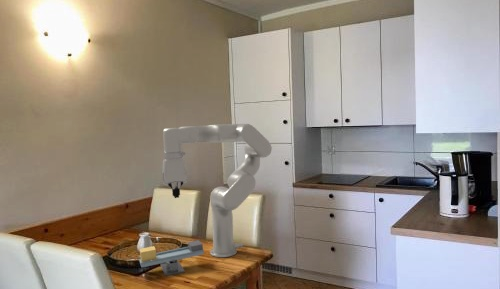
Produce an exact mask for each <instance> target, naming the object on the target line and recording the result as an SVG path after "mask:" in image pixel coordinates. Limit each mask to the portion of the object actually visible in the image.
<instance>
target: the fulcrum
mask: <svg viewBox="0 0 500 289" xmlns="http://www.w3.org/2000/svg"><path fill="white" fill-rule="evenodd" d="M160 268H161V269H162V272H163V274H164V276H172V275H179V274H184V273H185V269H184V268H183V265H182V263H181V262H180V261H179V260H175V262H173V261H170V262H165V263H161V264H160Z"/></svg>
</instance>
